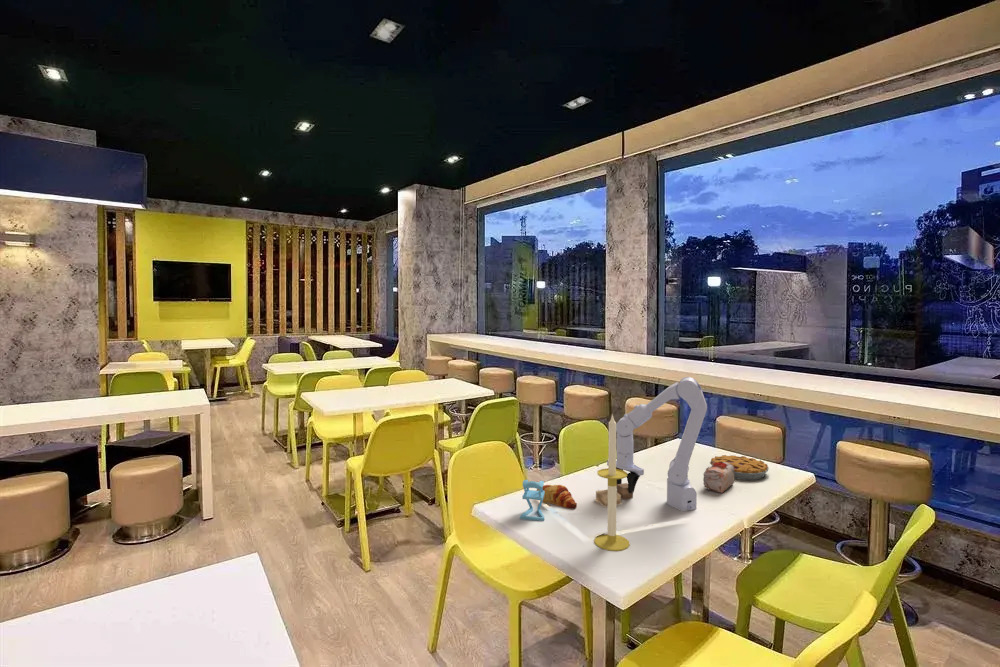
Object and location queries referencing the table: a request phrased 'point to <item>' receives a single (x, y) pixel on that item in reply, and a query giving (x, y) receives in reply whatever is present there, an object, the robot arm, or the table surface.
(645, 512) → the table surface
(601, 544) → the candle
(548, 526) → the table surface
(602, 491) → the oak base
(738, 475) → the pie
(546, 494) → the croissant
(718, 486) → the food item
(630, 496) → the walnut block
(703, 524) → the table surface
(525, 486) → the chair
